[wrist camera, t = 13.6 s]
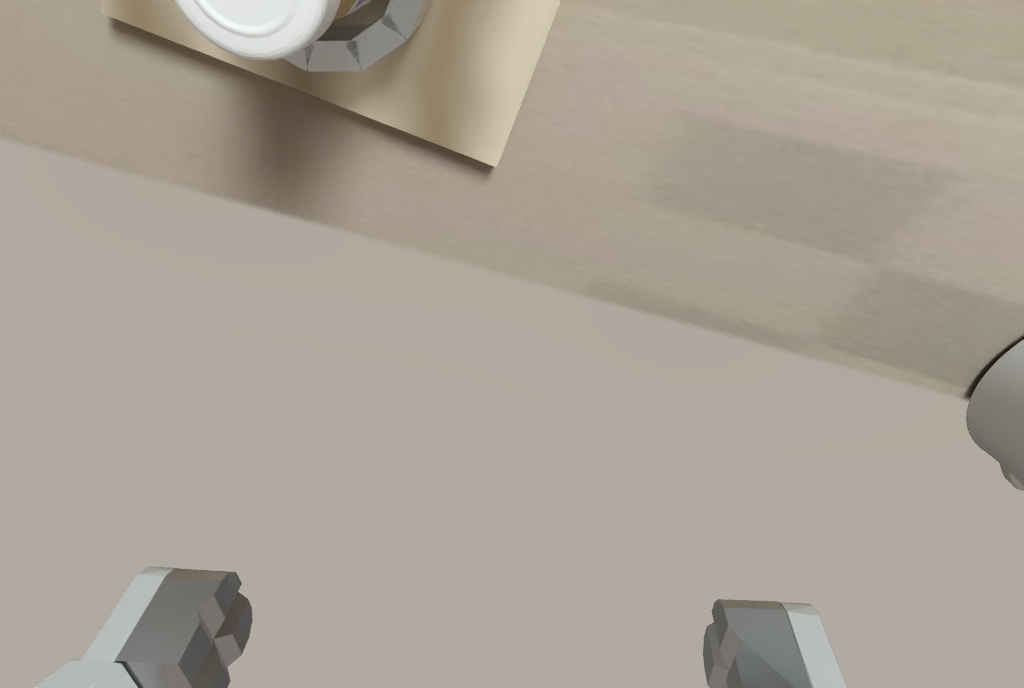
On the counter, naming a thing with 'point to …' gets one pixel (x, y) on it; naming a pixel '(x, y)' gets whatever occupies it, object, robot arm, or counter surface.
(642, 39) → the counter surface
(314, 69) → the steel ring
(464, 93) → the birch board
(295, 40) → the sprinkles bottle
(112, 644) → the robot arm
